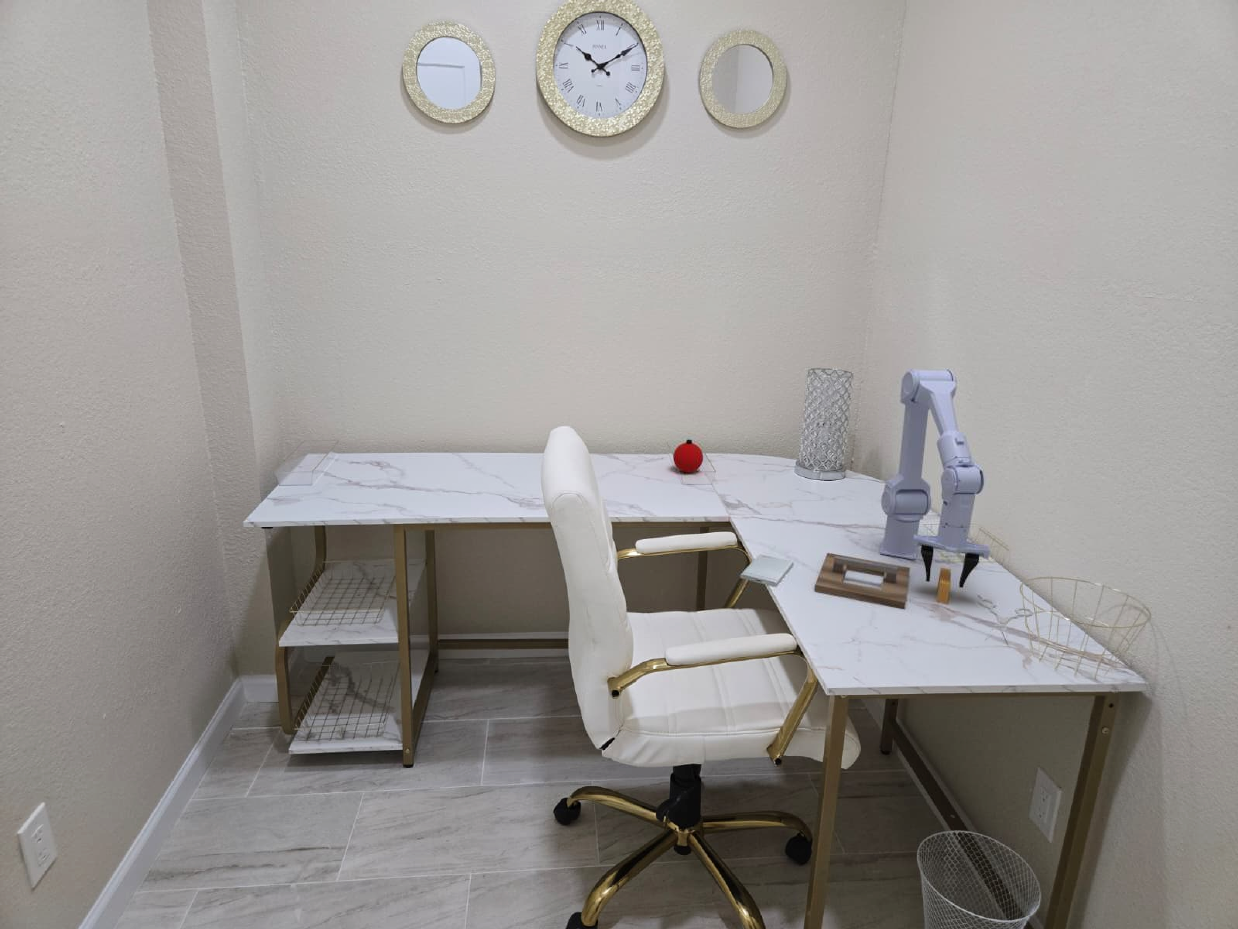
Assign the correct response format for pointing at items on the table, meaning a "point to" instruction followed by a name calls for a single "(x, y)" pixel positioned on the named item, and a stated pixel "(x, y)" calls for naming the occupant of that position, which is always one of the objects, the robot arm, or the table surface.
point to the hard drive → (767, 570)
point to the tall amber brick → (944, 585)
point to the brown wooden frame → (884, 596)
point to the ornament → (688, 457)
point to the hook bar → (865, 567)
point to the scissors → (999, 618)
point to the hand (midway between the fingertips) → (944, 582)
